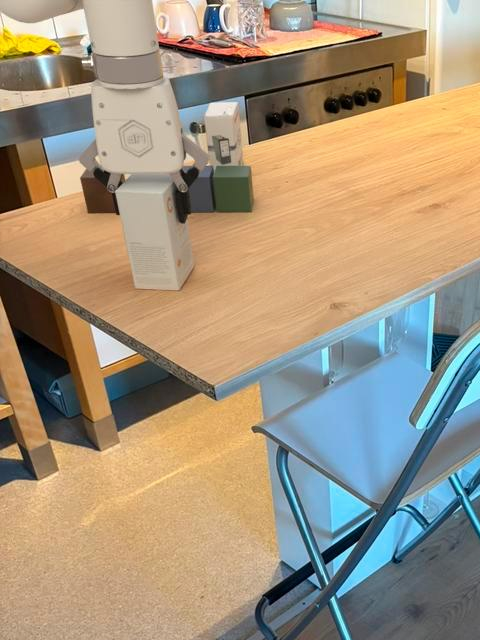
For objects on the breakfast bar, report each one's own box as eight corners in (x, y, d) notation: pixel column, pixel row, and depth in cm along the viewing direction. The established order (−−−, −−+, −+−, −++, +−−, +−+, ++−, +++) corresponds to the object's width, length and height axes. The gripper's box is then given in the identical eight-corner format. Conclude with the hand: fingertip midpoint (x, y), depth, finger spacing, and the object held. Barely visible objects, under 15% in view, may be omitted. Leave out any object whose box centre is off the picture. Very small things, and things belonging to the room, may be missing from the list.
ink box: (217, 172, 144) (209, 100, 137) (245, 172, 145) (238, 100, 137) (212, 189, 138) (202, 114, 130) (241, 189, 138) (233, 115, 130)
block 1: (87, 213, 129) (79, 177, 125) (95, 200, 133) (87, 166, 130) (122, 212, 129) (115, 177, 126) (129, 200, 133) (122, 165, 130)
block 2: (179, 212, 130) (173, 177, 126) (183, 200, 134) (178, 165, 130) (213, 212, 130) (209, 177, 126) (217, 200, 134) (213, 165, 131)
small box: (151, 264, 115) (134, 168, 106) (195, 266, 114) (182, 171, 106) (133, 289, 108) (113, 190, 100) (179, 291, 108) (164, 192, 100)
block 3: (216, 212, 130) (212, 177, 126) (220, 200, 134) (216, 165, 131) (251, 212, 130) (248, 176, 127) (253, 199, 134) (250, 165, 131)
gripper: (44, 75, 91) (81, 231, 103) (200, 75, 92) (219, 230, 104) (61, 60, 97) (94, 210, 109) (207, 60, 98) (225, 209, 109)
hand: (155, 218), depth 106 cm, fingers closed on small box, 6 cm apart
